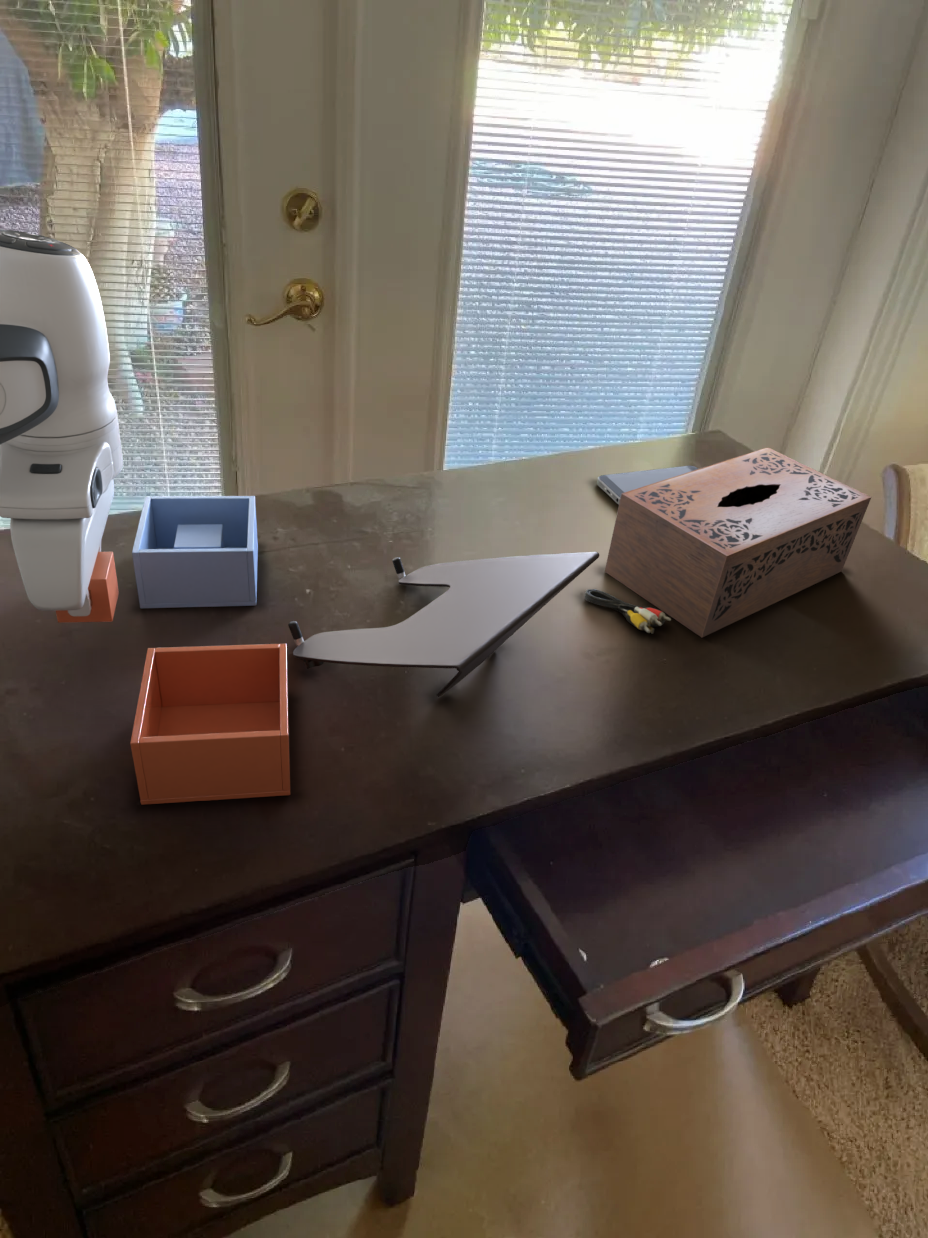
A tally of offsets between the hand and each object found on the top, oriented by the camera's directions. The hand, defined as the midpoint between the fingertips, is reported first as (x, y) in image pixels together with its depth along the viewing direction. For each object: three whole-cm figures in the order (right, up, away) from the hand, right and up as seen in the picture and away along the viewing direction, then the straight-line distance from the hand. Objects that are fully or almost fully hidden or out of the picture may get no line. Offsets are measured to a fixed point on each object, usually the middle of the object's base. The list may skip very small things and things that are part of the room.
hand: (86, 592), depth 78 cm
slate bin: (+6, +2, +15) cm, 16 cm away
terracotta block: (0, -1, +1) cm, 2 cm away
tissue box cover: (+64, +3, +25) cm, 69 cm away
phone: (+60, +15, +41) cm, 74 cm away
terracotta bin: (+13, -13, -5) cm, 19 cm away
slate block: (+6, +3, +14) cm, 16 cm away
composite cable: (+51, -2, +16) cm, 53 cm away
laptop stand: (+30, -6, +8) cm, 31 cm away
